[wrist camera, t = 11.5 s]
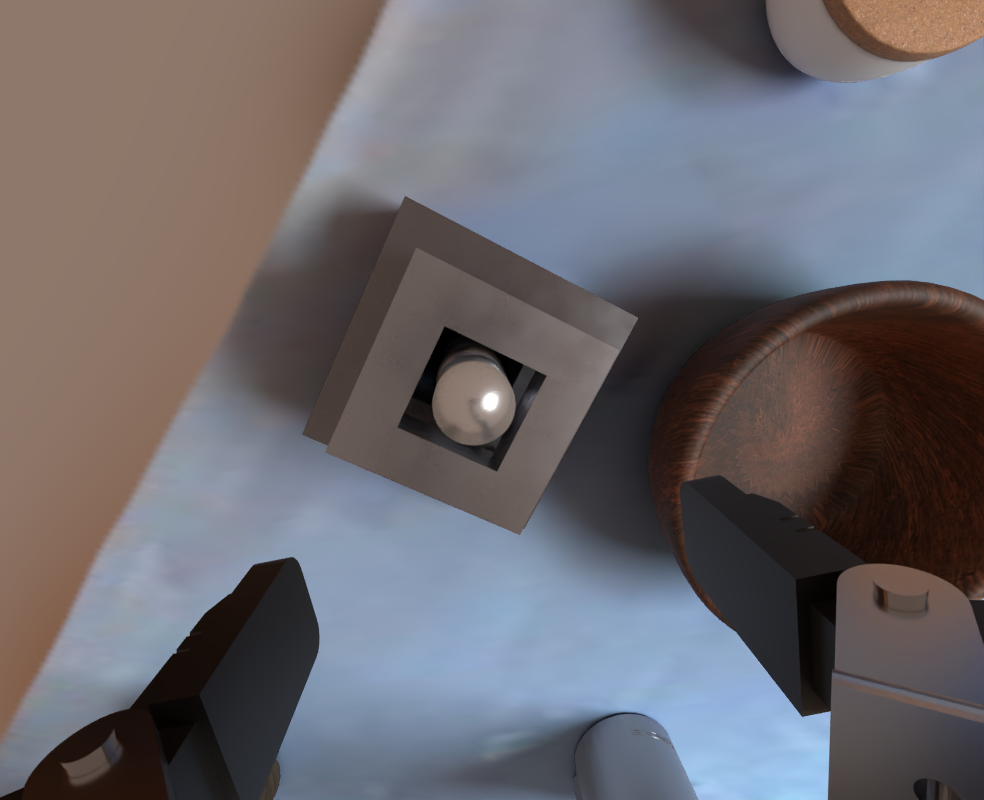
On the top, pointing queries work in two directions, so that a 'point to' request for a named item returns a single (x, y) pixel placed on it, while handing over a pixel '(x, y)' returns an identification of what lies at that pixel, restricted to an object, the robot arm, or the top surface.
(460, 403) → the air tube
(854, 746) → the robot arm
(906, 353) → the wooden bowl
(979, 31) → the lidded bowl
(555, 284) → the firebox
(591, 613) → the top surface
